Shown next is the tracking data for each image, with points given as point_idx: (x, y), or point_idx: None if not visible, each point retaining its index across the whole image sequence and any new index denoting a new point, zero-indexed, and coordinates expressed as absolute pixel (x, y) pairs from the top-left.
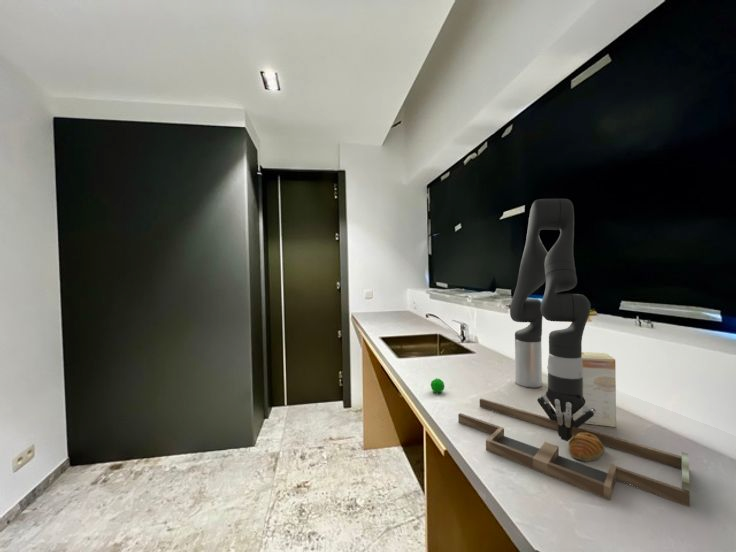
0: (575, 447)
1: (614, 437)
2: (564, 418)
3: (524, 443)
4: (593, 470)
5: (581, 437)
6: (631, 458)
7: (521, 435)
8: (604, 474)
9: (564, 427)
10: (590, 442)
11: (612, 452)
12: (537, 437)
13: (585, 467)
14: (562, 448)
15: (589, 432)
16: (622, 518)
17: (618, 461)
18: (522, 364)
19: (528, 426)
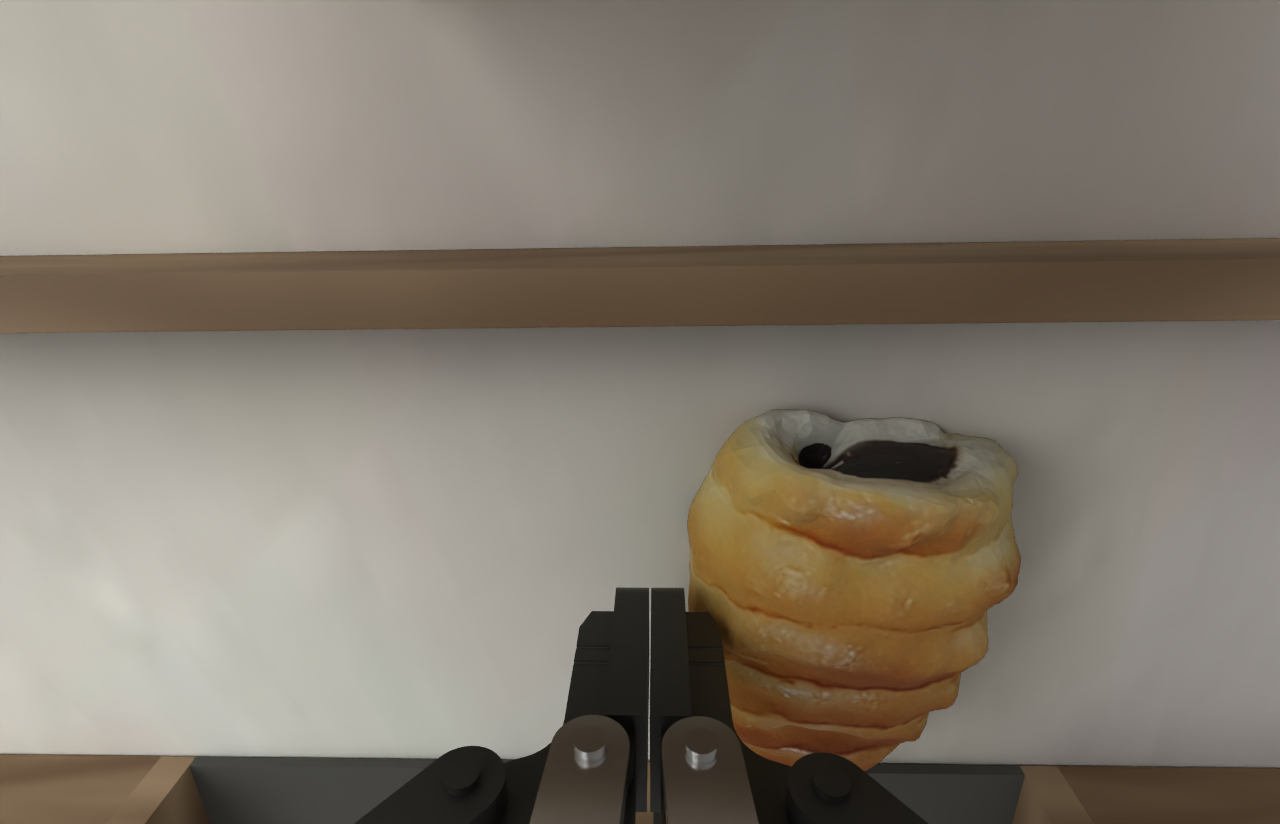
0: (777, 754)
1: (1201, 279)
2: (622, 802)
3: (374, 770)
4: (909, 800)
5: (824, 655)
6: (1239, 394)
7: (274, 643)
8: (982, 801)
9: (653, 803)
10: (920, 685)
11: (1068, 397)
12: (394, 586)
13: None
14: None
15: (875, 321)
16: None
17: (1102, 533)
18: None
19: (203, 421)
